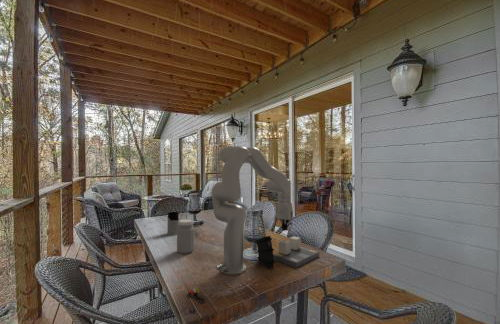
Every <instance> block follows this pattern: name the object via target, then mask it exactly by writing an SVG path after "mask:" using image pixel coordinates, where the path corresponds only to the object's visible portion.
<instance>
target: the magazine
mask: <svg viewBox="0 0 500 324" xmlns="http://www.w3.org/2000/svg"><path fill="white" fill-rule="evenodd" d="M256 240H257V241H256V242H255V245H257V251H256V253H257V255H258V257H257V258H256V259H258V262H259V263H260V264H261V265H262V266H263V267H265V268H266V269H268V270H271V269H274V268H275V267H274V264H275V263H276V262H275V261H276V260H274V259H273V255H274V251H275V250H274V248H273V244H272V243H273V242H272V240H273V239H272V238H271V235H269V236H268V235H267V236H263V237H260V238H259V239H256Z"/></svg>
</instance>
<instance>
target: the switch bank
mask: <svg viewBox="0 0 500 324" xmlns="http://www.w3.org/2000/svg"><path fill="white" fill-rule="evenodd" d="M319 257H320V251H317V250H314V249H310V248H308V247H304V246H301V248H300V249H298V250H294V249H291V253H289V254H286V255H285V254H282V253H279V252H277V253H273V260H274V261H277V262H280V263H283V264H285V265H288V266H291V267H294V268H299V267H301V266H303V265H304V264H306V263H307V264H308V263H309V262H311V261H313V260H314V259H316V258H319Z"/></svg>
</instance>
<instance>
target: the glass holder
mask: <svg viewBox="0 0 500 324" xmlns="http://www.w3.org/2000/svg"><path fill="white" fill-rule="evenodd" d="M183 215H185V216H186V217H185V219H188V216H187V214H186V213H182V214H181V215H180V214H179V212H178V211H171V212H168V213H167V232H166V236H177V229H178V228H179V227H178V226H179V224H178V221H179V220H182V216H183ZM179 216H180V219H179Z"/></svg>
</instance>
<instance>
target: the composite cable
mask: <svg viewBox="0 0 500 324" xmlns="http://www.w3.org/2000/svg"><path fill="white" fill-rule="evenodd" d="M188 291H189V292H187V295H186V296H187V297H188V298H191V299H194V300H196V301H197V303H199V304H201V305H202V304H205V303H206V302H205V301H206V300H205V298H204V297H201V296H199V293H200V292H199V291H200V289H199V288H198V287H195V286H193V288H192V289H188Z"/></svg>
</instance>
